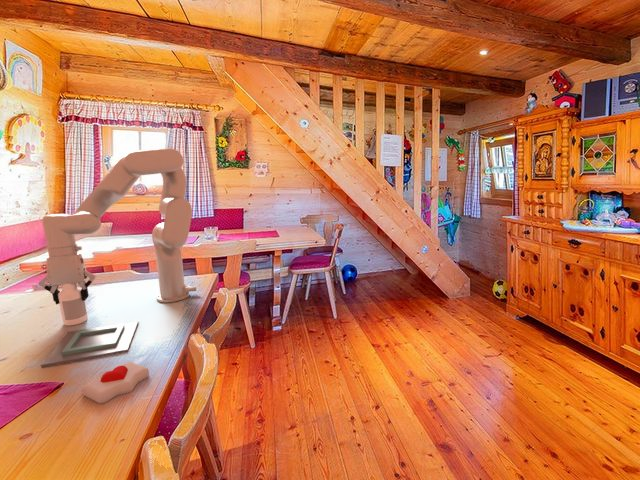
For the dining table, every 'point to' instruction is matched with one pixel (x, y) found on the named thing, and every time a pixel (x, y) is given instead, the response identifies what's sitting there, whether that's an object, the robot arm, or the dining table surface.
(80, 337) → the dock
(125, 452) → the dining table surface
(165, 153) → the robot arm
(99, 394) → the icon
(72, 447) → the dining table surface
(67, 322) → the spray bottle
